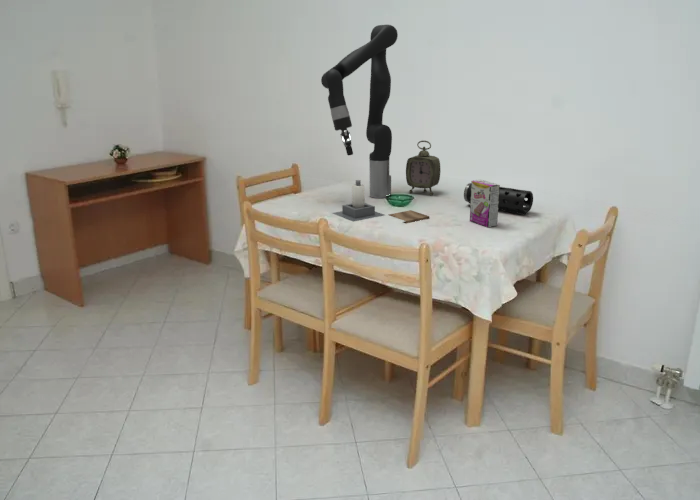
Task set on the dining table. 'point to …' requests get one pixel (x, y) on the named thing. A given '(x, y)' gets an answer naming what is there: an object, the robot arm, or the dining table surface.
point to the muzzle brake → (508, 199)
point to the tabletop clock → (423, 170)
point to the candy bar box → (484, 203)
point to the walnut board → (409, 216)
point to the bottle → (358, 195)
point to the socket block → (358, 212)
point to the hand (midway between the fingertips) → (350, 155)
